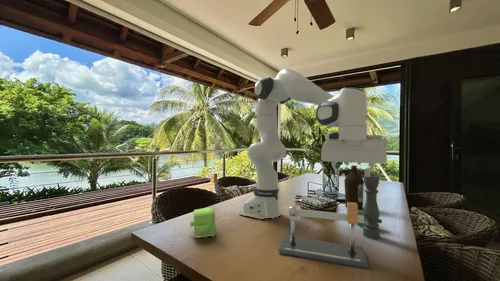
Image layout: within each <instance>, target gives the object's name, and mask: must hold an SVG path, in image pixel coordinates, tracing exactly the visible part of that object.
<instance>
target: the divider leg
mask: <svg viewBox="0 0 500 281" xmlns="http://www.w3.org/2000/svg"><path fill="white" fill-rule="evenodd" d="M358 211H359V210H358V205H357V203H353V202H347V207H346V214H347V221H346V222H347V223H348V225H349V245H350V252H355V246H356V240H355V239H356V225H358Z"/></svg>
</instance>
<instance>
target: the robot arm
mask: <svg viewBox="0 0 500 281" xmlns="http://www.w3.org/2000/svg"><path fill="white" fill-rule="evenodd" d="M253 92H254V95H255V97H256V98H257V104H256V131H257V133H258V135H260V137H261V140H262V141H258V142H254V143H252V144H250V145H249V147H248V148H247V156H248V159H249V160H250V161H251V162H252V163H253V165H254V167H255V168H254V169H255V172H256V181H257V182H256V184H257V185H256V187H255V188H254V189H253V192H252V193H253V195H252V196H250V197H249V198H248V199H246V200H245V202H244V203H243V206H242V209H243V212H245V213H249V214H255V215H258V216H259V218H272V219H274V218H273V217H277V218H279V217H278V216H280V215H282V214H281V210H280V205H279V204H280V203H279V199H280V190H279V181H278V180H279V178H278V177H279V175H278V172H277V171H276V170H275V169H274V168H275V167H274V165H273V162H279V161H280V160H283V159H284V158H285V157H286V155H287V150H286V147H285V145H284V144H283V143H282V141H281V139H280V138H281V137H280V135H279V131H278V113H277V112H278V110H277V106H278V105H279V104H280V105H284V104H285V103H287V102H290V101H291V100H293V101H296V102H299V103H307V104H313V105H316V106H317V107H316V111H315V117H316V120H317V122H318V124H319V125H321V126H324V127H331V128H332V127H333V128H338V129H337V130H334V131H331V132H329V133H326V134H325V135H324V139H325V141H323V143H322V147H321V152H320V153H321V154H320V159H321V161H323V162H327V163H328V162H330V163H331V166H332V169H333V170H334V175H335V176H340V169H337V167H336V165H337V163H353V164H354V163H357V164H359V163H360V164H368V170H364V175H365V177H370V175H371V172H372V171H373V170H374V168H375V164H380V165H381V164H382V165H383V164H385V163H386V162H387V161H388V157H387V147H388V139H387V137H385V136H383V135H381V134H378V135H377V134H375V135H374V134H368V123H367V114H368V100H367V94H366V92H365V90H364V89H362V88H359V87H343V88H341V89H340V90H339V91H338V92H337V94H335V95H333V94H331V93H329V92H327V91H326V90H324V89H322V88H321V87H320V86H318V85H316V84H315V83H314V82H313V81H311V80H310V79H308V78H307V77H306V76H304V75H303V74H301V73H299V71H296V70H294V69H290V68H283V69H281V70H280V71H279V72H278V73H277V75H276V77H274V78H273V77H271V76H268V77H262V78H258V80H256V82H255V83H254V88H253ZM260 216H261V217H260ZM280 217H281V216H280Z"/></svg>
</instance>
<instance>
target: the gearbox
mask: <svg viewBox="0 0 500 281" xmlns="http://www.w3.org/2000/svg"><path fill="white" fill-rule="evenodd" d="M192 227H194V237H195V236H206V235H216V214H215V210H214V207H204V208H198V209H194V210H193V220H190V228H192Z"/></svg>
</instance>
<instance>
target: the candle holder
mask: <svg viewBox="0 0 500 281" xmlns="http://www.w3.org/2000/svg"><path fill="white" fill-rule="evenodd" d="M363 181H364V187H365V189H364V190H363V192H365V195H366V197H365V199H366V200H365V205H364V207H363V211H362V212H363V214H364V216H365V219H366V221H365V222H364V225H365V226H363V227H362V229H363V230H362V231H363V232H362V236H363V237H365V238H367V239H371V240H378V239H380V238H381V235H380V234H381V228H380V223H377V219H378V218H379V219H380V209H379V205H378V202H377V197H378V196H377V195H378V193H379V190H378V187H379V184H380V175H376V174H375V175H374V174H370V177H365V174H364V175H363Z"/></svg>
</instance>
